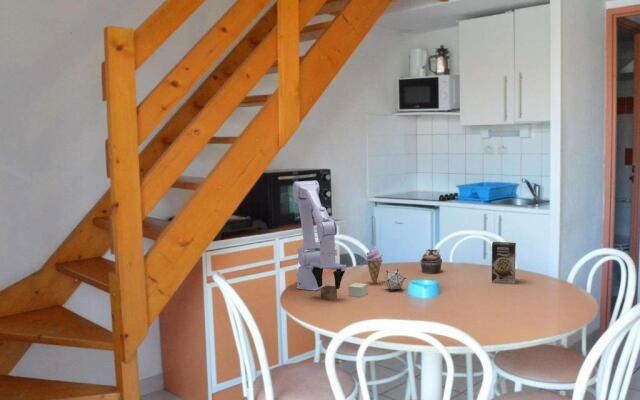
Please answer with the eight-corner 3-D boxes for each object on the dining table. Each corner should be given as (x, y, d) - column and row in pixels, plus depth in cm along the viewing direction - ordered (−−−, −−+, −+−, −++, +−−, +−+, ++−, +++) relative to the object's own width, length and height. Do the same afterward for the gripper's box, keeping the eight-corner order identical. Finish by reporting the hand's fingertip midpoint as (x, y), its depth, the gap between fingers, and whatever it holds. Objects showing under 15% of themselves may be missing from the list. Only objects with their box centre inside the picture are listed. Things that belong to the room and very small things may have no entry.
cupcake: (419, 269, 264) (419, 247, 263) (441, 269, 263) (441, 247, 262) (420, 274, 255) (420, 252, 254) (443, 274, 253) (442, 251, 252)
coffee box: (491, 283, 236) (491, 244, 234) (492, 279, 242) (492, 241, 240) (514, 284, 232) (514, 244, 231) (515, 280, 238) (515, 241, 237)
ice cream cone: (383, 281, 244) (382, 246, 242) (383, 285, 238) (382, 249, 236) (367, 282, 244) (366, 247, 243) (367, 285, 238) (366, 249, 237)
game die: (398, 300, 229) (405, 283, 223) (378, 292, 231) (384, 275, 224) (403, 284, 236) (410, 268, 229) (383, 276, 237) (389, 260, 231)
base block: (348, 296, 224) (348, 286, 224) (355, 292, 229) (354, 282, 228) (361, 297, 221) (361, 287, 221) (367, 294, 226) (367, 284, 226)
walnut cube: (321, 299, 221) (320, 288, 220) (326, 296, 224) (326, 285, 224) (331, 300, 218) (330, 289, 218) (337, 297, 222) (336, 286, 222)
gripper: (305, 253, 220) (307, 288, 221) (339, 255, 212) (340, 292, 214) (315, 250, 226) (316, 284, 227) (348, 252, 218) (349, 287, 220)
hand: (328, 287), depth 221 cm, fingers open, 7 cm apart
